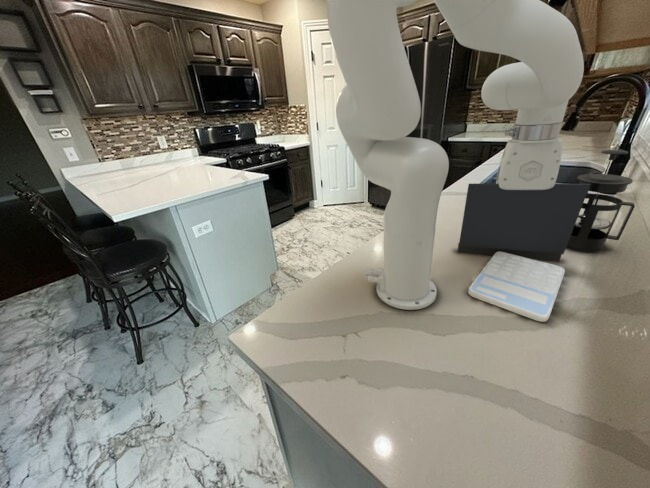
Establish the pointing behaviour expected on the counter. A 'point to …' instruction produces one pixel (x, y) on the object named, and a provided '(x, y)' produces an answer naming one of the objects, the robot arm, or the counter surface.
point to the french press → (599, 209)
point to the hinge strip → (519, 253)
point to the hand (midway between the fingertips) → (514, 216)
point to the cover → (521, 217)
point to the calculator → (519, 285)
